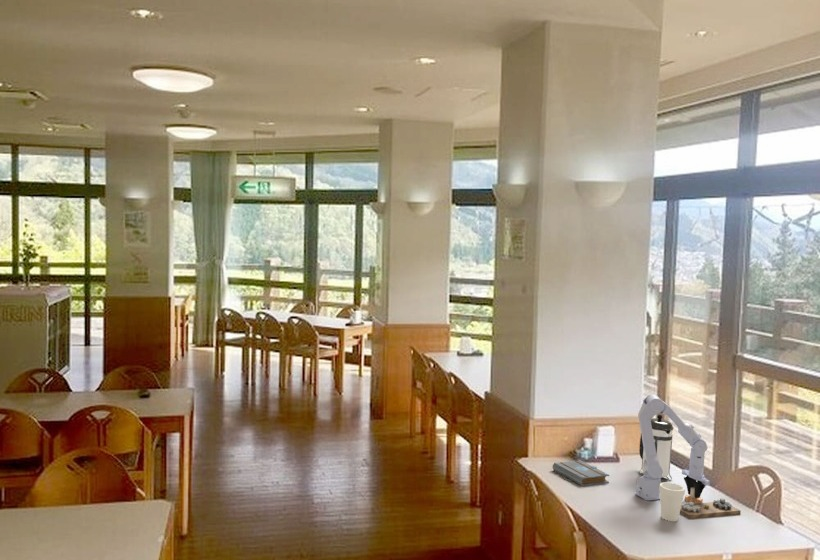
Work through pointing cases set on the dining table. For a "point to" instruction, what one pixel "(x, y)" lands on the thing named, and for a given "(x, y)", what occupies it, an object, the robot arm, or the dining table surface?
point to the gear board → (709, 511)
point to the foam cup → (671, 500)
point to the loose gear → (693, 497)
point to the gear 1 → (691, 507)
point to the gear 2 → (722, 504)
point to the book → (580, 472)
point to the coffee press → (660, 444)
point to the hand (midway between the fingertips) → (693, 496)
